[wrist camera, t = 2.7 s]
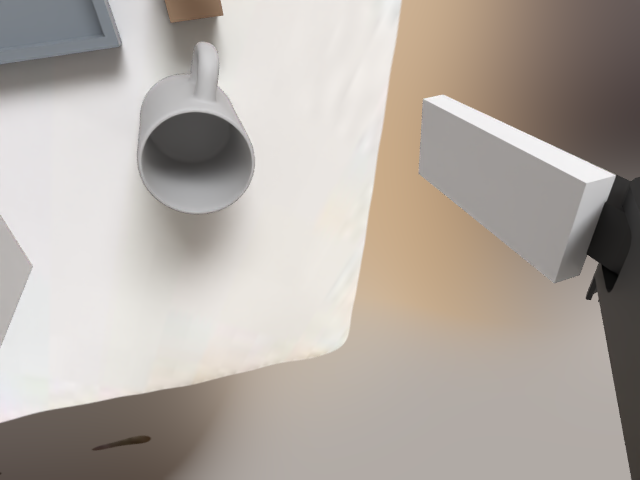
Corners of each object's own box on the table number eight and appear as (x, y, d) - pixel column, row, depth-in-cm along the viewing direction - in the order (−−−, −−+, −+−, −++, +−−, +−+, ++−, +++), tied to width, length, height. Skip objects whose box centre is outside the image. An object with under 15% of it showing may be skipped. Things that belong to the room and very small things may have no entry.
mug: (227, 168, 43) (245, 220, 34) (137, 156, 39) (132, 211, 31) (249, 44, 37) (277, 70, 29) (146, 18, 34) (143, 37, 25)
